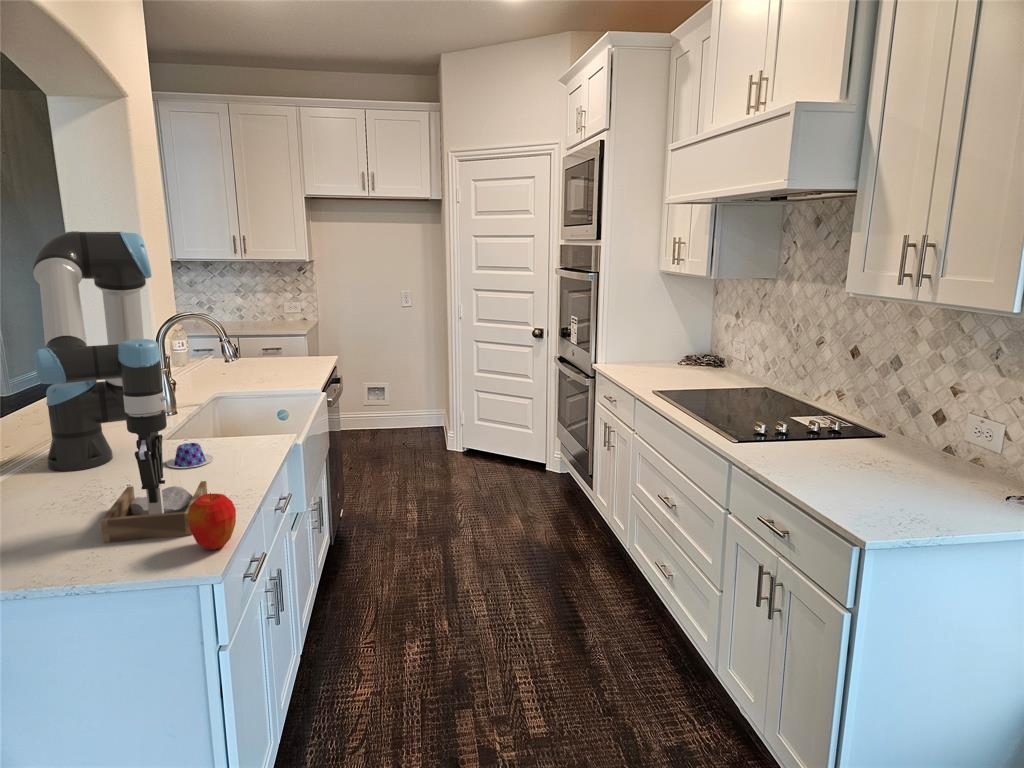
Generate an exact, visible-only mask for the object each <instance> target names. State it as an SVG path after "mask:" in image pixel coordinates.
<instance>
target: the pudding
mask: <svg viewBox="0 0 1024 768" xmlns="http://www.w3.org/2000/svg"><path fill="white" fill-rule="evenodd" d="M177 446H178V447H176V451H175V457H172V458H170V459H168V460H167V461H166V462H165V464H166V466H167V467H169V468H170V467H171V468H173V469H174V468H175V469H188V468H195V467H201V466H204V465H206V464H208V463H210V462H212V461H213V460H214V456H213V455H210V454H208V453H204V451H203V449H202V447H201V445H200V444H199V443H197V442H188V443H185V442H184V443H183V444H179V445H177Z"/></svg>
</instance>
